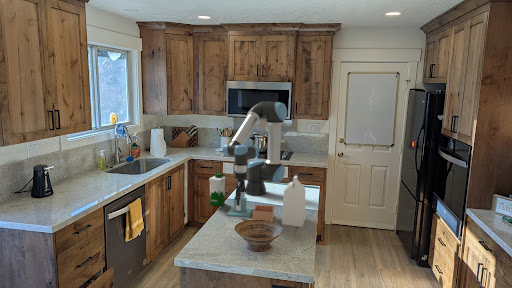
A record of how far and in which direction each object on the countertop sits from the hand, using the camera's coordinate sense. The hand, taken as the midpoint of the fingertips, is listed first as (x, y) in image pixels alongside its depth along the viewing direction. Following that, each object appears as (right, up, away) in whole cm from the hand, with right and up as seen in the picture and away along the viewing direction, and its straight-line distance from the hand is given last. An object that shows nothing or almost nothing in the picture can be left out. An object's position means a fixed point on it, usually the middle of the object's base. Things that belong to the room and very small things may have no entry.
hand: (240, 206), depth 209 cm
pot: (+14, -6, -9) cm, 18 cm away
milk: (+31, -7, -10) cm, 33 cm away
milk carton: (-15, -2, +14) cm, 21 cm away
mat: (0, -4, +1) cm, 4 cm away
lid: (0, -4, +1) cm, 4 cm away
